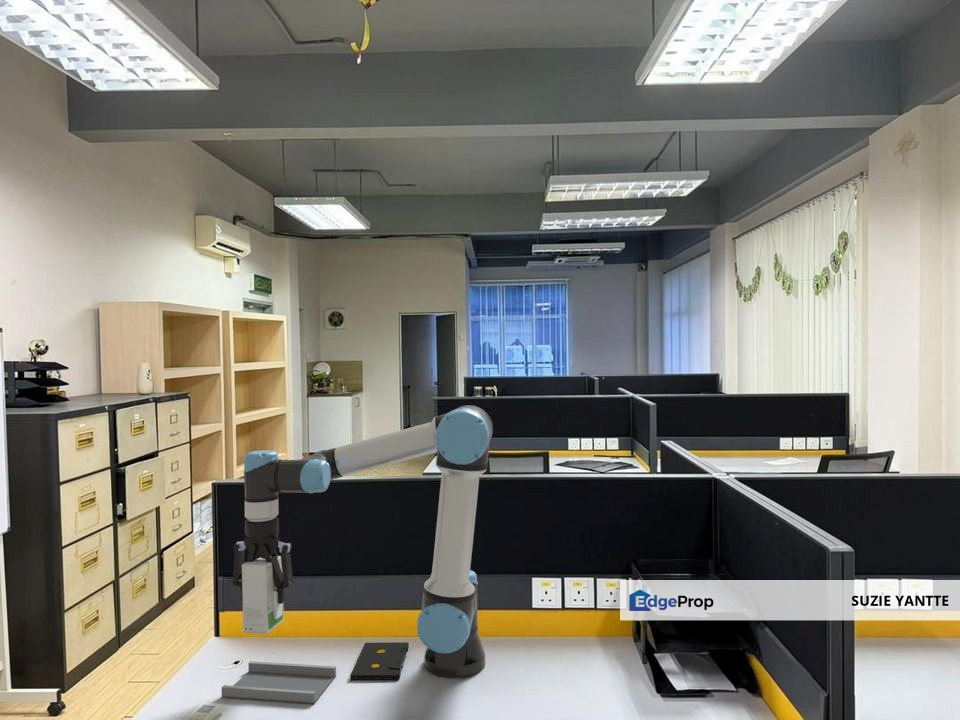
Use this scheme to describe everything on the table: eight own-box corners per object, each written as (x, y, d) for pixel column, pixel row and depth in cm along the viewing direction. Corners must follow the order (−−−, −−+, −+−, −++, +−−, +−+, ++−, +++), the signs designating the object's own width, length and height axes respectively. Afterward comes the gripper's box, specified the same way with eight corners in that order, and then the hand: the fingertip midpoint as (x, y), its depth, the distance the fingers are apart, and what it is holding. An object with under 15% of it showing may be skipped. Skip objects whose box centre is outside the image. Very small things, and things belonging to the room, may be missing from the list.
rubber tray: (336, 676, 158) (336, 666, 158) (314, 704, 146) (313, 693, 146) (250, 670, 162) (250, 661, 162) (221, 697, 149) (221, 687, 149)
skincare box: (266, 635, 150) (266, 566, 150) (240, 633, 151) (239, 564, 151) (284, 620, 158) (284, 555, 158) (259, 618, 159) (258, 554, 159)
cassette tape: (398, 683, 156) (398, 673, 156) (350, 683, 156) (350, 674, 156) (408, 649, 174) (408, 641, 174) (365, 649, 174) (365, 641, 174)
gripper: (308, 514, 157) (309, 612, 157) (231, 512, 160) (233, 608, 160) (294, 522, 149) (295, 624, 149) (214, 520, 152) (215, 620, 152)
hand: (263, 616), depth 154 cm, fingers closed on skincare box, 6 cm apart
